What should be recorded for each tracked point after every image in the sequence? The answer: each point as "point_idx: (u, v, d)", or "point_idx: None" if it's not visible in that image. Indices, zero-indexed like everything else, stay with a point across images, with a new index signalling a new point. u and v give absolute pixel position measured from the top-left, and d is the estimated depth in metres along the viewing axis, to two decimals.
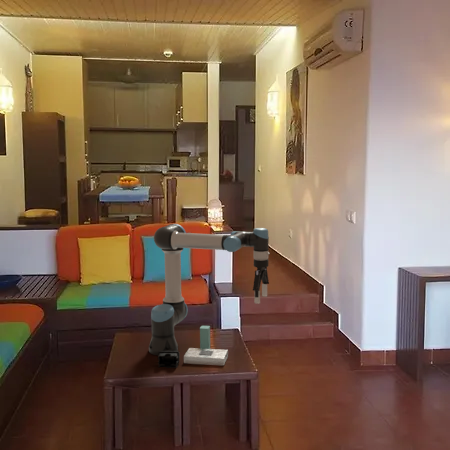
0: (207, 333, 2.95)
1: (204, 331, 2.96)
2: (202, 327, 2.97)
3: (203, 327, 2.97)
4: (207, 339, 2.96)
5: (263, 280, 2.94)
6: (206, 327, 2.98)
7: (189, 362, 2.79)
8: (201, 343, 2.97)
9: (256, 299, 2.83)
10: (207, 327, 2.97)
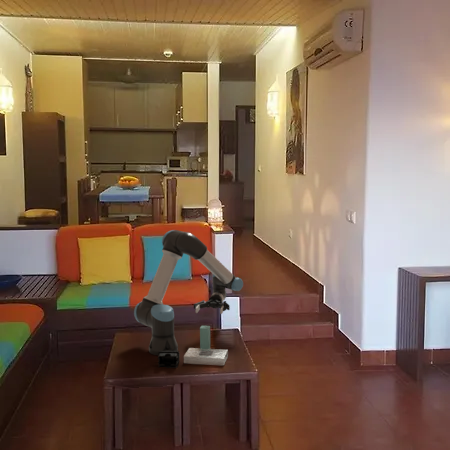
0: (207, 333, 2.95)
1: (204, 331, 2.96)
2: (202, 327, 2.97)
3: (203, 327, 2.97)
4: (207, 339, 2.96)
5: (201, 305, 3.16)
6: (206, 327, 2.98)
7: (189, 362, 2.79)
8: (201, 343, 2.97)
9: (222, 309, 3.07)
10: (207, 327, 2.97)
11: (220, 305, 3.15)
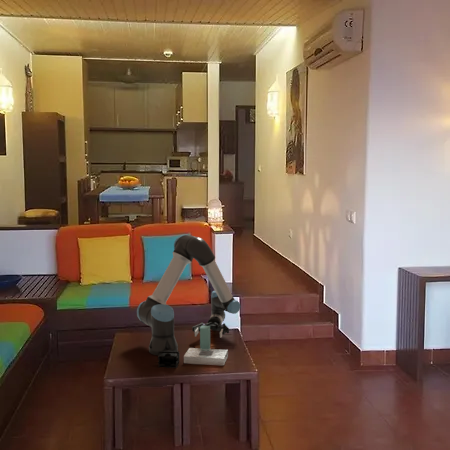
0: (207, 333, 2.95)
1: (204, 331, 2.95)
2: (202, 327, 2.97)
3: (203, 327, 2.97)
4: (207, 339, 2.96)
5: None
6: (206, 327, 2.98)
7: (189, 362, 2.79)
8: (201, 343, 2.97)
9: (221, 333, 3.02)
10: (207, 327, 2.97)
11: (219, 328, 3.10)
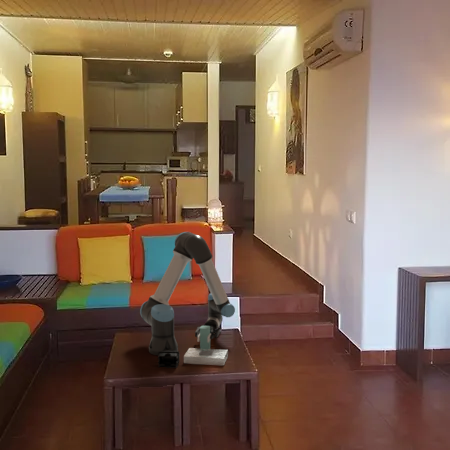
0: (207, 333, 2.95)
1: (204, 331, 2.96)
2: (202, 327, 2.97)
3: (203, 327, 2.97)
4: None
5: None
6: (206, 327, 2.98)
7: (189, 362, 2.79)
8: (201, 343, 2.97)
9: (209, 338, 2.94)
10: (207, 327, 2.97)
11: (211, 332, 3.03)
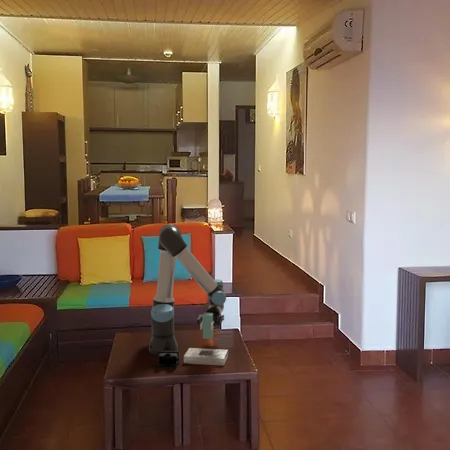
0: (210, 320, 2.81)
1: (207, 318, 2.81)
2: (205, 314, 2.83)
3: (206, 314, 2.83)
4: (210, 326, 2.82)
5: None
6: (209, 314, 2.83)
7: (189, 362, 2.79)
8: (204, 331, 2.83)
9: (212, 325, 2.80)
10: (210, 314, 2.83)
11: (213, 319, 2.89)
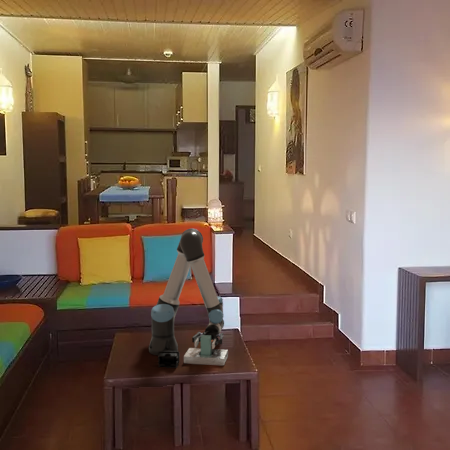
0: (208, 343, 2.80)
1: (205, 341, 2.80)
2: (203, 337, 2.82)
3: (204, 337, 2.82)
4: (208, 349, 2.81)
5: (200, 338, 2.88)
6: (206, 336, 2.82)
7: (189, 362, 2.79)
8: (202, 354, 2.82)
9: (214, 344, 2.79)
10: (208, 337, 2.82)
11: (214, 338, 2.88)
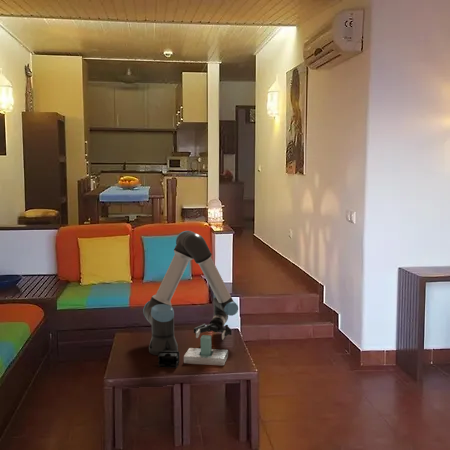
0: (208, 343, 2.80)
1: (205, 341, 2.80)
2: (203, 337, 2.82)
3: (204, 337, 2.82)
4: (208, 349, 2.81)
5: (202, 329, 3.01)
6: (206, 336, 2.82)
7: (189, 362, 2.79)
8: (202, 354, 2.82)
9: (224, 335, 2.93)
10: (208, 337, 2.82)
11: (221, 329, 3.01)
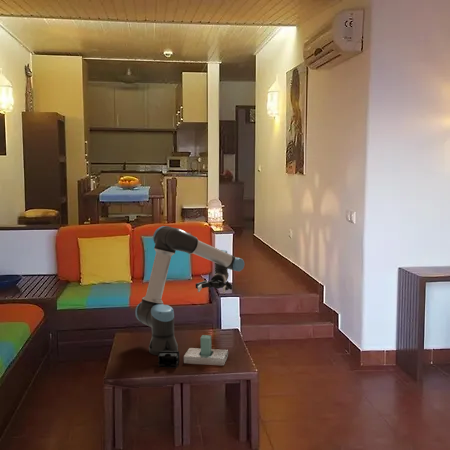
0: (208, 343, 2.80)
1: (205, 341, 2.80)
2: (203, 337, 2.82)
3: (204, 337, 2.82)
4: (208, 349, 2.81)
5: (204, 285, 3.12)
6: (206, 336, 2.82)
7: (189, 362, 2.79)
8: (202, 354, 2.82)
9: (224, 289, 3.03)
10: (208, 337, 2.82)
11: (222, 285, 3.11)
